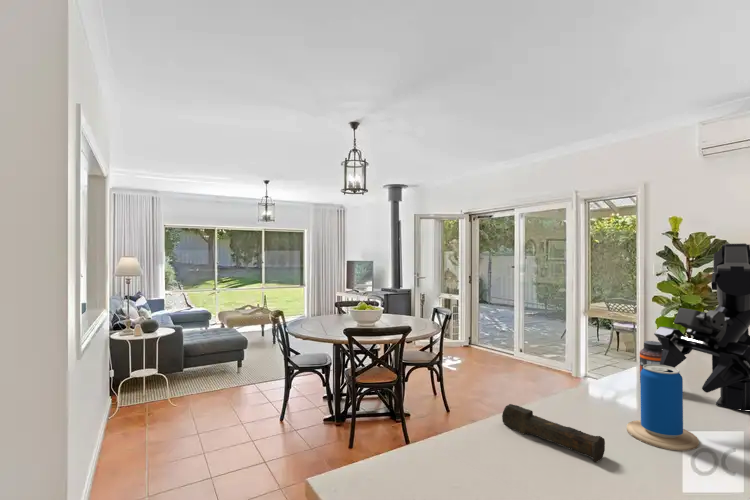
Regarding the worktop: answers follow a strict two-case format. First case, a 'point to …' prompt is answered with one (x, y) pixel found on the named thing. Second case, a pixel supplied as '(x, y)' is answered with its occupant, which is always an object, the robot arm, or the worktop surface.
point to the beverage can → (661, 400)
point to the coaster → (663, 438)
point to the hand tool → (553, 432)
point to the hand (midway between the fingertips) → (680, 382)
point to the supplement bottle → (650, 353)
